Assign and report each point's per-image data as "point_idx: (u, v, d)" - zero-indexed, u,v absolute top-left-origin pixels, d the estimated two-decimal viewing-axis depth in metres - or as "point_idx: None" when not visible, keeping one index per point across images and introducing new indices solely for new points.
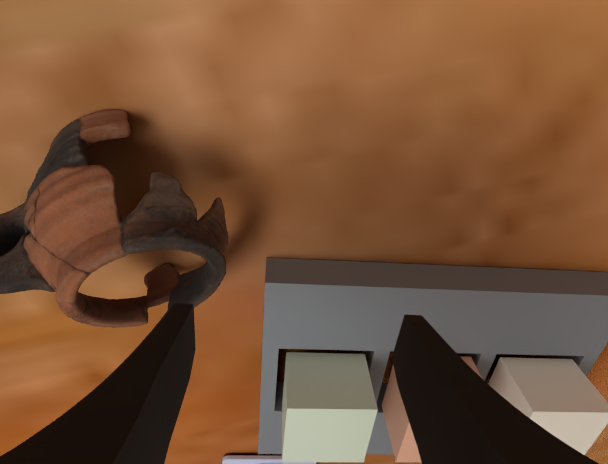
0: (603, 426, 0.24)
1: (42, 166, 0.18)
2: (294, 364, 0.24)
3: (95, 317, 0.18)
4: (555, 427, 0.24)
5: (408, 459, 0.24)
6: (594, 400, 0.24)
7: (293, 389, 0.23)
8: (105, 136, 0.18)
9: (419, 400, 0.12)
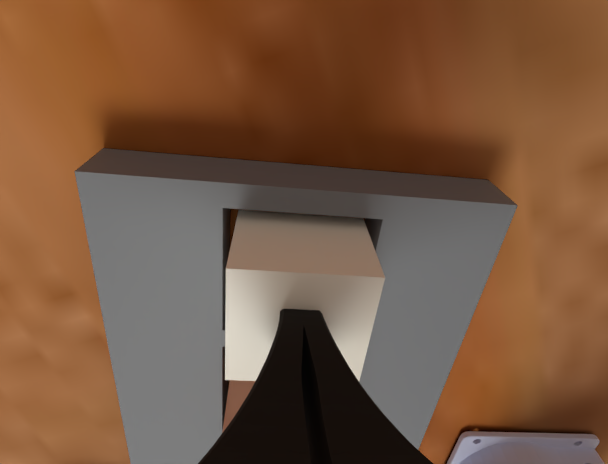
0: (266, 274, 0.12)
1: None
2: None
3: None
4: (267, 343, 0.14)
5: None
6: None
7: None
8: None
9: (304, 396, 0.12)
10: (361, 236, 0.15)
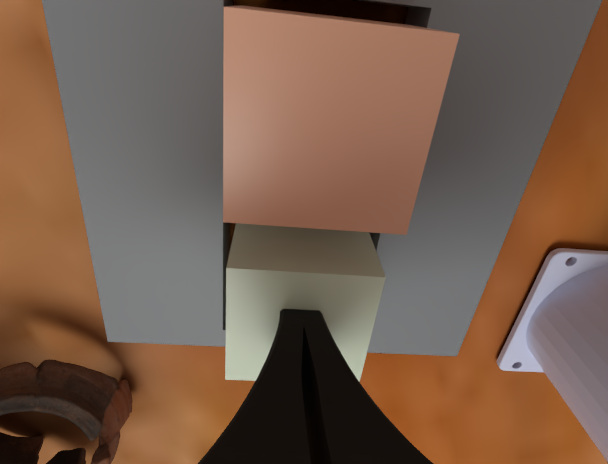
0: None
1: None
2: None
3: None
4: None
5: (401, 210, 0.11)
6: None
7: None
8: None
9: (304, 396, 0.12)
10: None
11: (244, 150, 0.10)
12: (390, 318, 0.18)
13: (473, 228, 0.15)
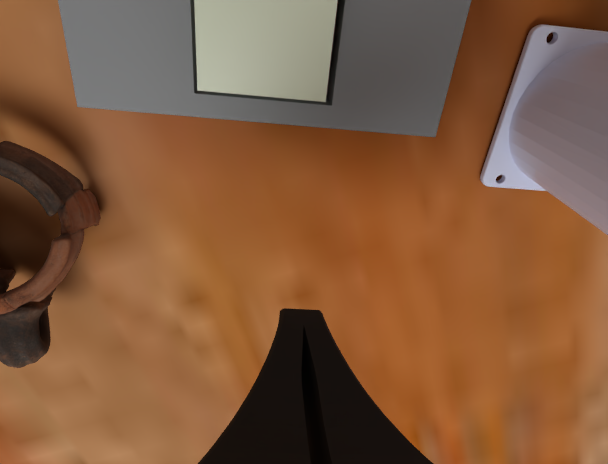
0: None
1: None
2: None
3: (22, 287, 0.18)
4: None
5: None
6: None
7: None
8: None
9: (304, 396, 0.12)
10: None
11: None
12: (364, 81, 0.17)
13: None
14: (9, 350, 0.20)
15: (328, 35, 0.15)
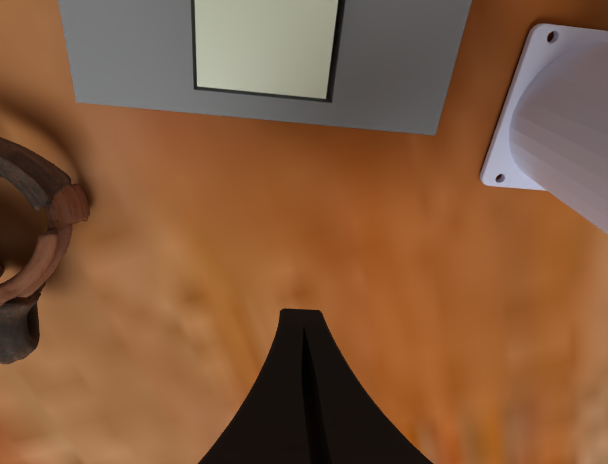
0: None
1: None
2: None
3: (8, 283, 0.18)
4: None
5: None
6: None
7: None
8: None
9: (304, 396, 0.12)
10: None
11: None
12: (365, 78, 0.17)
13: None
14: None
15: (329, 31, 0.15)
